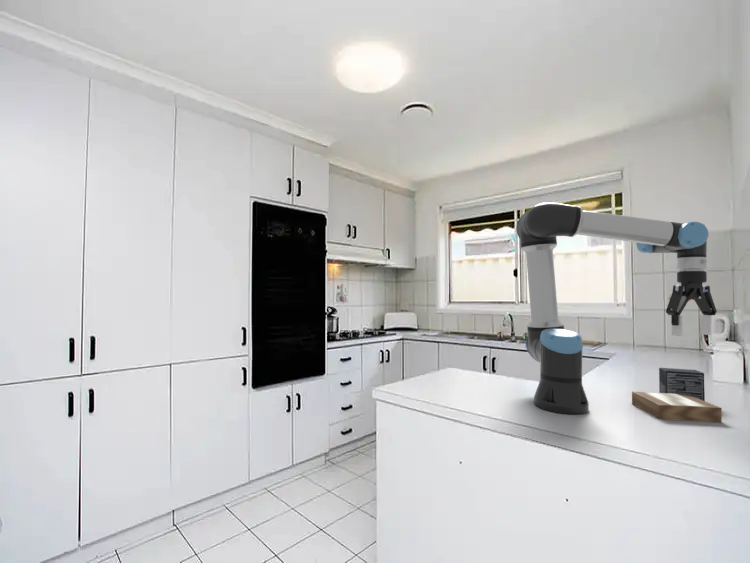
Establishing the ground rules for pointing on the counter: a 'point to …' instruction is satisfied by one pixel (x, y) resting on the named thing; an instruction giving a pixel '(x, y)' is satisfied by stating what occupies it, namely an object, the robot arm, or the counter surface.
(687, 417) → the wooden block
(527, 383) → the counter surface
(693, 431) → the counter surface
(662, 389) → the small box
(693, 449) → the counter surface
